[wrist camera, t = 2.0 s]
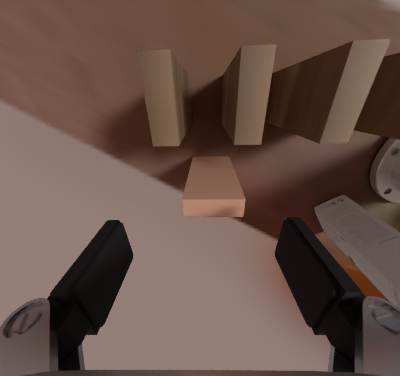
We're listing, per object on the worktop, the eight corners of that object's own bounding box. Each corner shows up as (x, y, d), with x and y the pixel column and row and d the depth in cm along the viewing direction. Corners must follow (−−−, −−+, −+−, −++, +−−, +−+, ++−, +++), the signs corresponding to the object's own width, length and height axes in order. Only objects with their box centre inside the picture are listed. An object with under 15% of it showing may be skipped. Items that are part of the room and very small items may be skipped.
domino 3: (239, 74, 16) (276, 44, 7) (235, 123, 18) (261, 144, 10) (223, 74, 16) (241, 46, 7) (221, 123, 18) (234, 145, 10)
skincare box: (311, 207, 23) (397, 295, 13) (344, 191, 22) (472, 277, 11) (324, 232, 26) (406, 326, 15) (355, 220, 24) (469, 314, 14)
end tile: (192, 156, 20) (182, 199, 12) (229, 156, 20) (245, 199, 12) (193, 168, 21) (183, 216, 13) (228, 167, 21) (243, 216, 12)
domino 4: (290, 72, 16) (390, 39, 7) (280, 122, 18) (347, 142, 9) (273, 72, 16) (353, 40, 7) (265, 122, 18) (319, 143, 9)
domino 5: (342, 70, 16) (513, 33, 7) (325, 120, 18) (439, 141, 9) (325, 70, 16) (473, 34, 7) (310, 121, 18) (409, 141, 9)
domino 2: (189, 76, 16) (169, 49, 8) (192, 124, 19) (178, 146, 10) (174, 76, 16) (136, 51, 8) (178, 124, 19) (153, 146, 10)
